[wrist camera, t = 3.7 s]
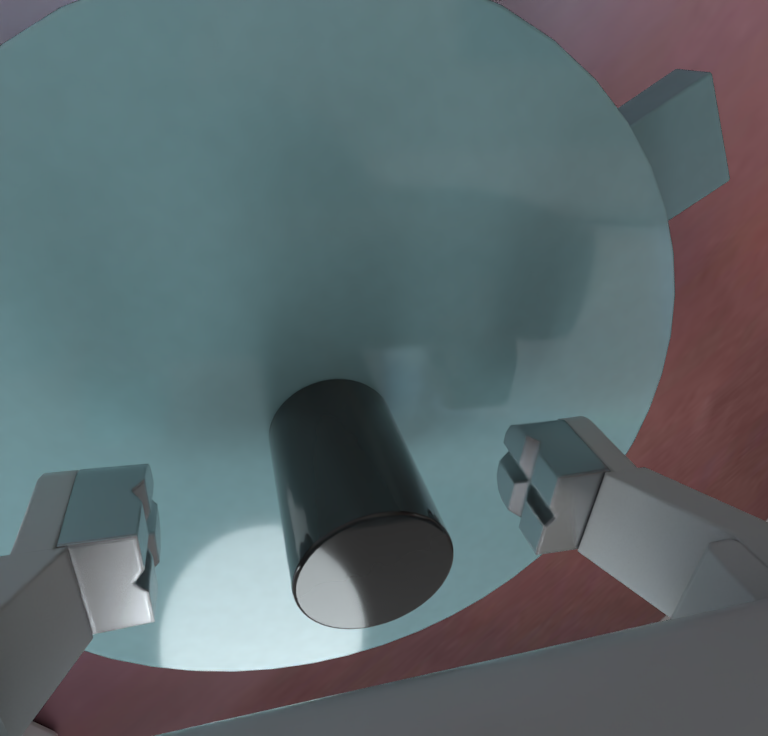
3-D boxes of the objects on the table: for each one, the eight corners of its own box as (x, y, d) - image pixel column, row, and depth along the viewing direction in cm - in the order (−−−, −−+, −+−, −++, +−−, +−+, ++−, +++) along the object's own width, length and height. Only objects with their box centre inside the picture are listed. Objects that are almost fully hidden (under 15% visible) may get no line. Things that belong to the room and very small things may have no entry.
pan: (-195, 283, 14) (-495, 482, 8) (450, -196, 13) (676, -393, 7) (186, 550, 22) (179, 754, 16) (612, 271, 21) (785, 378, 15)
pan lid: (-391, 354, 8) (-898, 638, 4) (482, -307, 7) (801, -679, 3) (252, 700, 17) (266, 900, 13) (697, 422, 16) (856, 552, 12)
